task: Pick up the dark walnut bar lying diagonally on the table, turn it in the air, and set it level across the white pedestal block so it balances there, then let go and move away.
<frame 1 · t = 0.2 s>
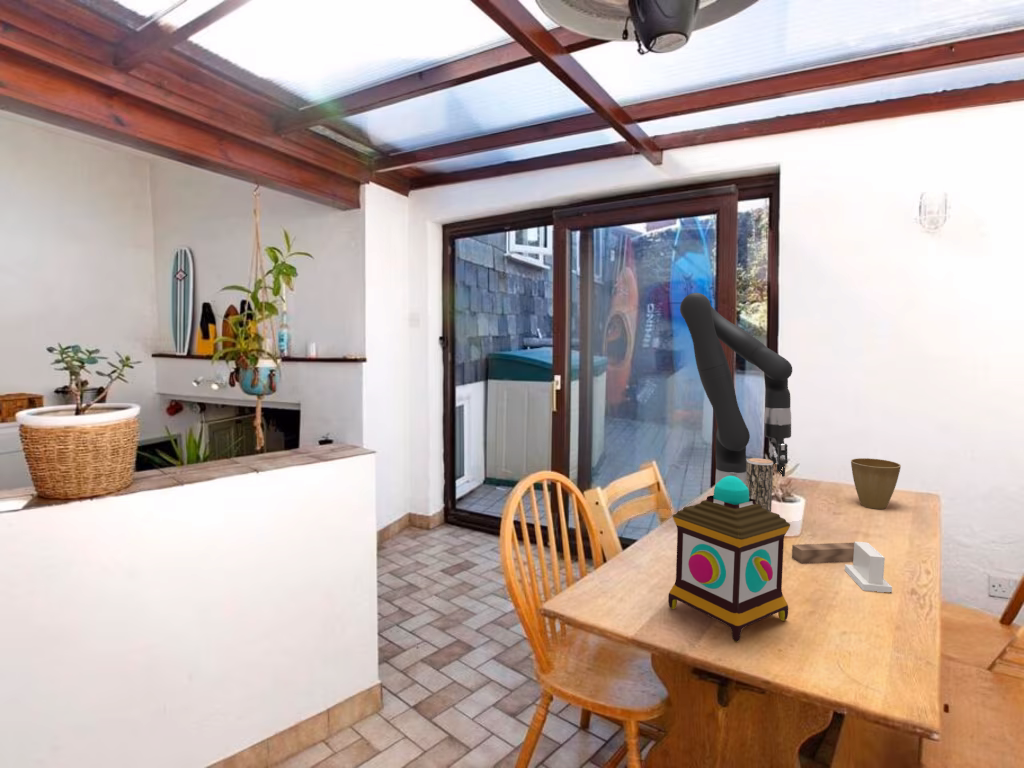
hand: (777, 473, 174), 17 cm above the table, tool pointing down, fingers open, 8 cm apart
white pedestal block: (867, 581, 135), on the table
plant pot: (872, 507, 198), on the table
walnut bar: (831, 560, 149), on the table
decorative lantern: (726, 615, 118), on the table
log stump: (756, 548, 157), on the table
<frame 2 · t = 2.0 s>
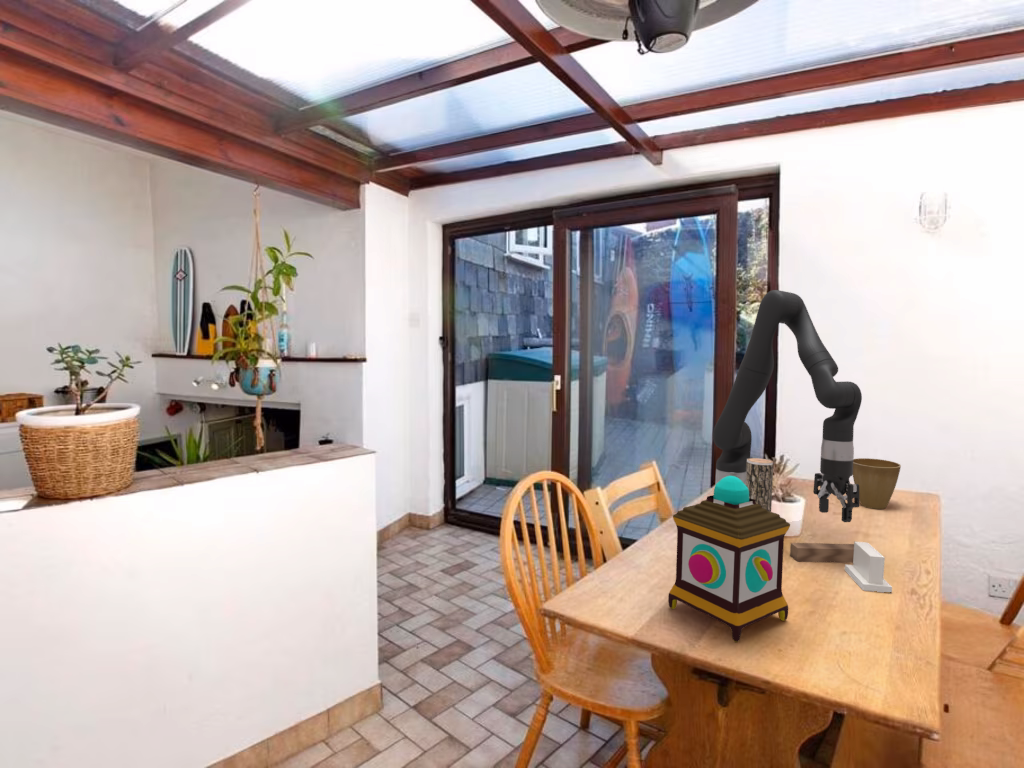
hand: (834, 516, 148), 12 cm above the table, tool pointing down, fingers open, 8 cm apart
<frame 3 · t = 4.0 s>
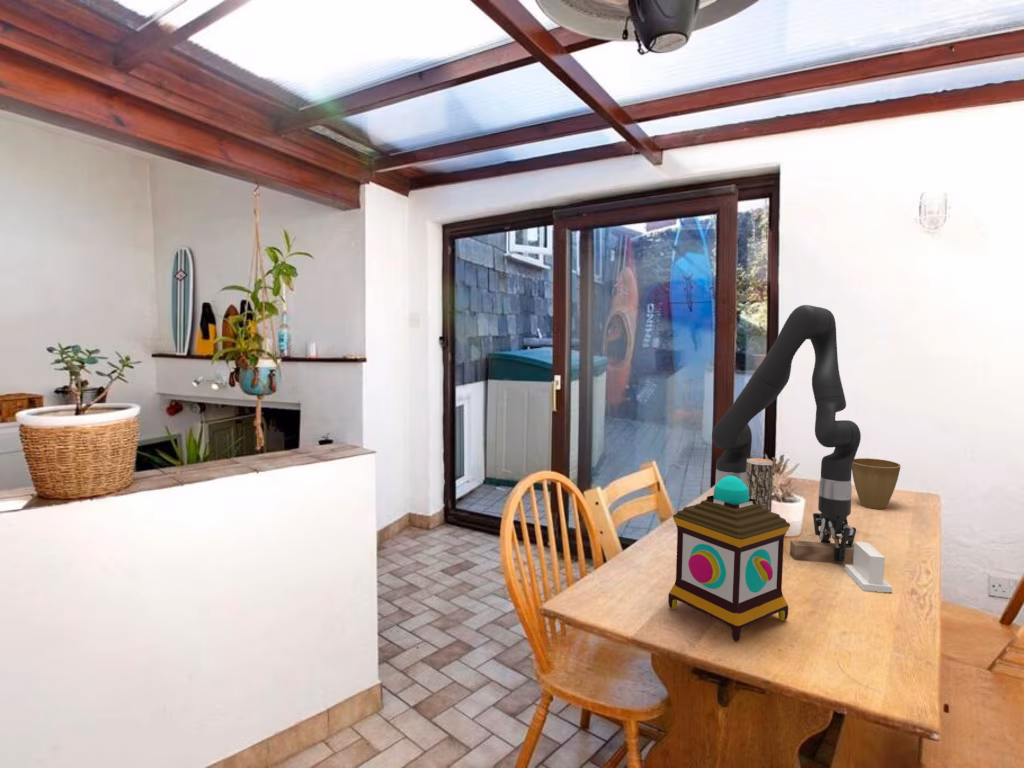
hand: (832, 557, 148), 1 cm above the table, tool pointing down, fingers closed on walnut bar, 5 cm apart
walnut bar: (832, 560, 148), on the table, touching gripper
everything else where it was.
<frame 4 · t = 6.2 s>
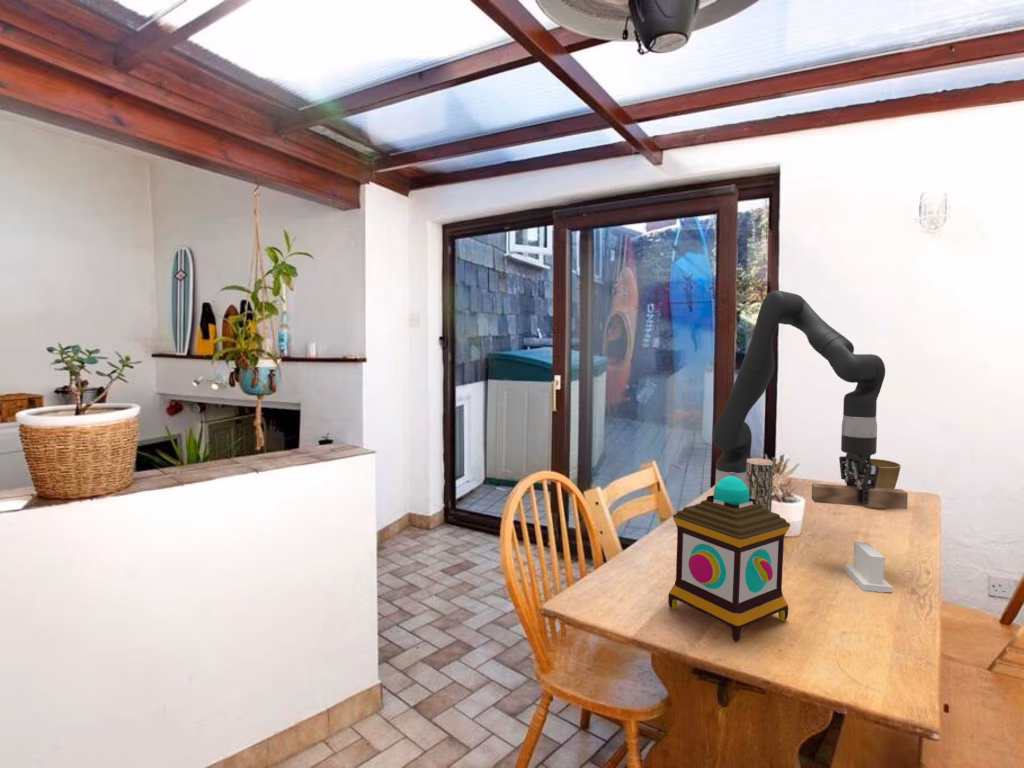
hand: (856, 500, 139), 18 cm above the table, tool pointing down, fingers closed on walnut bar, 4 cm apart
walnut bar: (857, 503, 139), point 18 cm above the table, touching gripper
everything else where it was.
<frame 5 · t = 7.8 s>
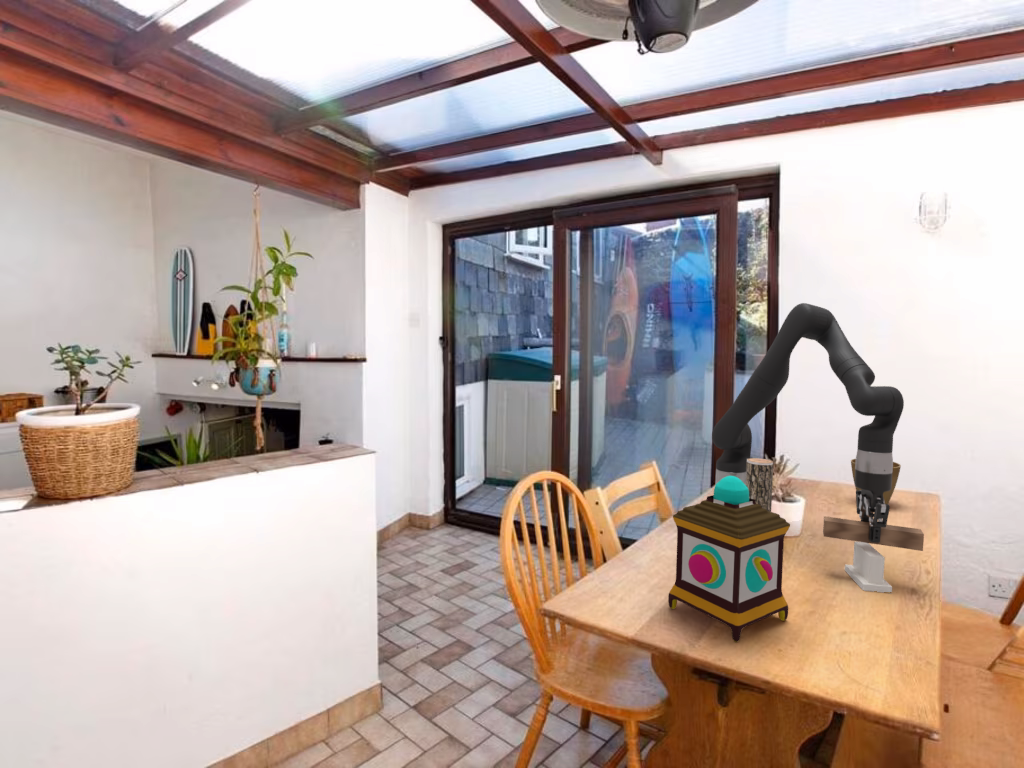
hand: (869, 537, 134), 11 cm above the table, tool pointing down, fingers closed on walnut bar, 4 cm apart
walnut bar: (870, 540, 134), point 10 cm above the table, touching gripper
everything else where it was.
when the fingers open (9 cm above the table, at t = 8.9 s): walnut bar stays where it is, resting on white pedestal block.
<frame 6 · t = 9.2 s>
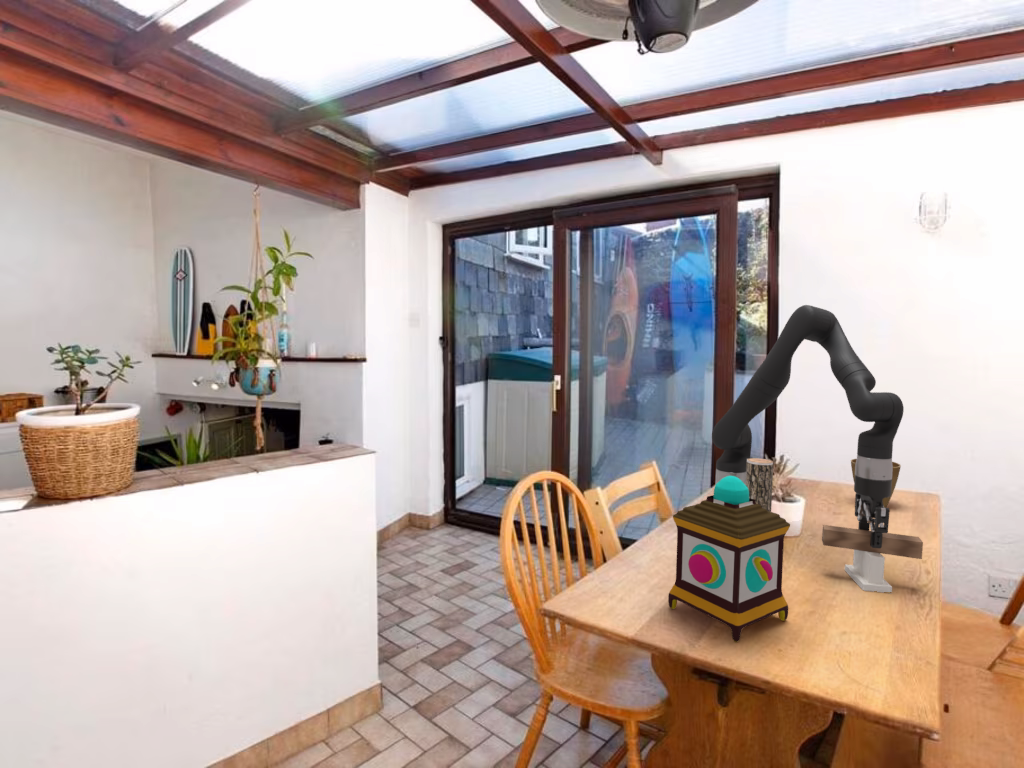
hand: (869, 542, 134), 10 cm above the table, tool pointing down, fingers open, 7 cm apart
walnut bar: (869, 549, 134), point 8 cm above the table, touching white pedestal block
everything else where it was.
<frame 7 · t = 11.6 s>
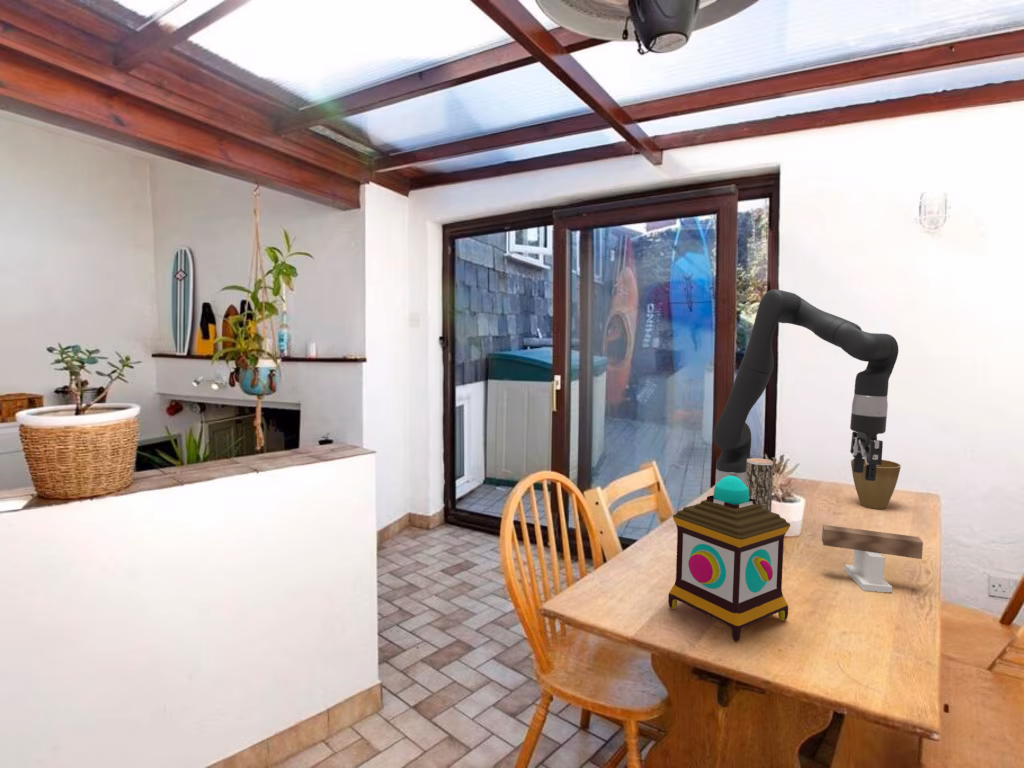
hand: (863, 476, 141), 24 cm above the table, tool pointing down, fingers open, 8 cm apart
nothing on the table moved.
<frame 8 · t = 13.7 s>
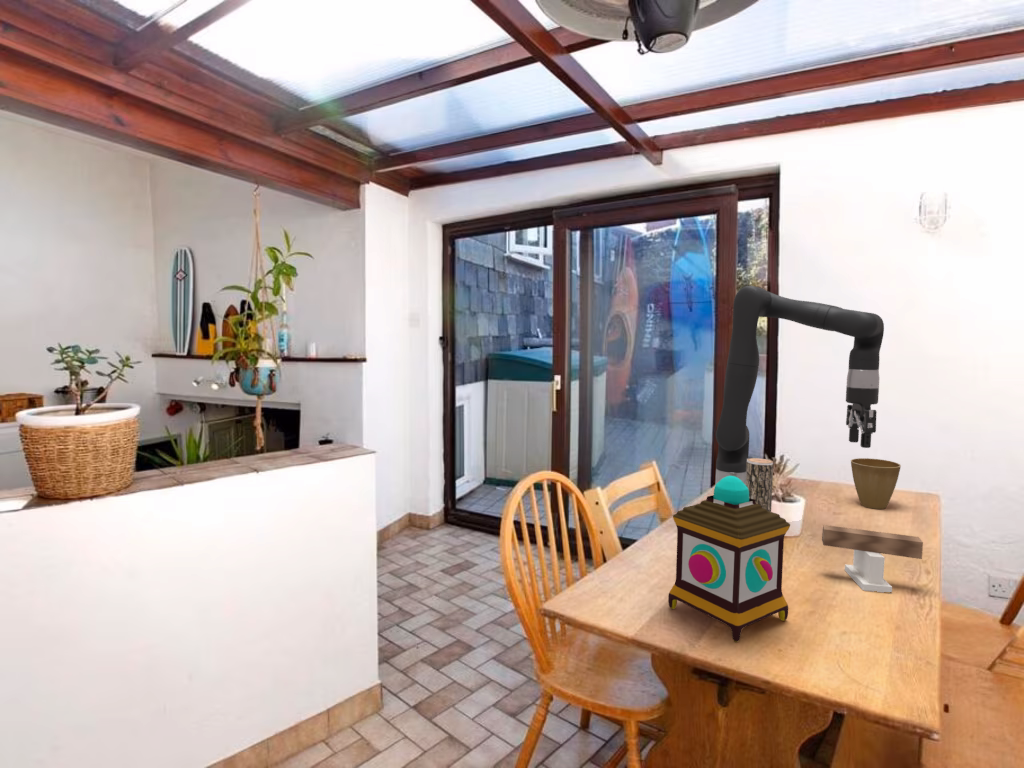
hand: (859, 444, 152), 30 cm above the table, tool pointing down, fingers open, 8 cm apart
nothing on the table moved.
at the end: walnut bar 0.2 cm off-centre on the white pedestal block, point 8.0 cm above the white pedestal block's base; walnut bar tilted 0°; walnut bar touching white pedestal block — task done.
